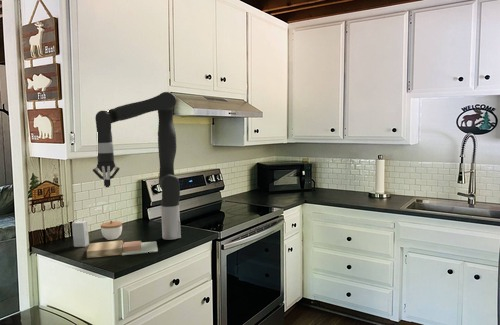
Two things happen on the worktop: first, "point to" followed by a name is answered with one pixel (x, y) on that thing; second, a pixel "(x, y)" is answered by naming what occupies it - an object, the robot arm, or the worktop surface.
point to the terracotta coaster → (132, 246)
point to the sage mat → (144, 248)
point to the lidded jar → (111, 230)
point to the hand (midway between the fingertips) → (107, 187)
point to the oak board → (105, 249)
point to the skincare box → (80, 234)
